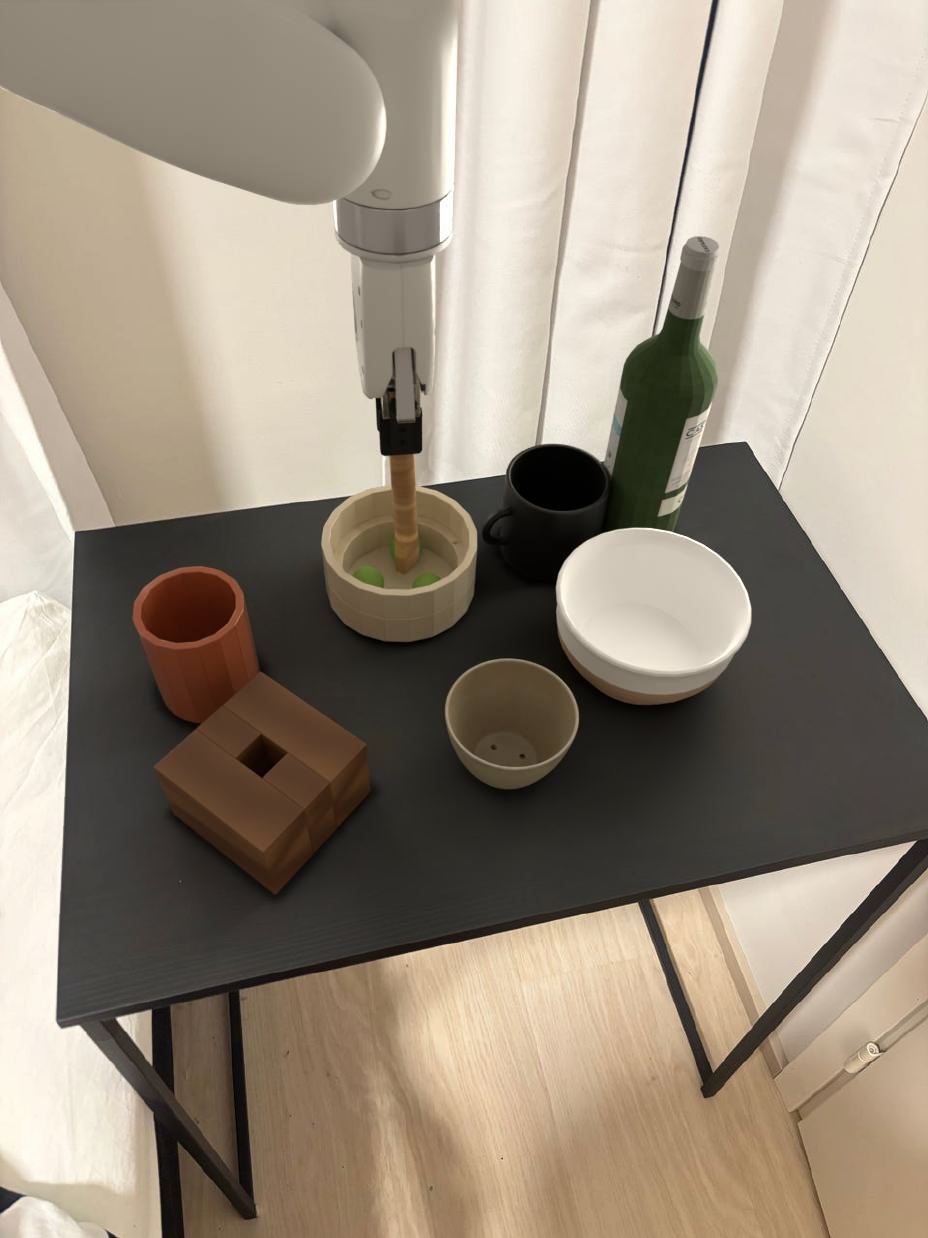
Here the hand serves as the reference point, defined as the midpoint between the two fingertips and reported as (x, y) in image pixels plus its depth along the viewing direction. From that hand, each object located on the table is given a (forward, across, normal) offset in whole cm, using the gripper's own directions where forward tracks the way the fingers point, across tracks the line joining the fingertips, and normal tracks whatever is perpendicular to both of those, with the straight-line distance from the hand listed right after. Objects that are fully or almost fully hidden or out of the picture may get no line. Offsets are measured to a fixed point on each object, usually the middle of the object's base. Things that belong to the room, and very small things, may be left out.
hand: (399, 439), depth 72 cm
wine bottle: (+18, -5, +23) cm, 30 cm away
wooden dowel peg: (+15, 0, 0) cm, 15 cm away
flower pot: (+18, +19, +6) cm, 27 cm away
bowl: (+18, +10, +20) cm, 28 cm away
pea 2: (+15, -3, +1) cm, 16 cm away
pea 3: (+15, +2, +2) cm, 16 cm away
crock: (+18, +9, -17) cm, 26 cm away
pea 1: (+15, +1, -3) cm, 16 cm away
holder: (+18, +21, -12) cm, 30 cm away
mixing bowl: (+18, 0, 0) cm, 18 cm away
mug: (+18, -3, +13) cm, 23 cm away
